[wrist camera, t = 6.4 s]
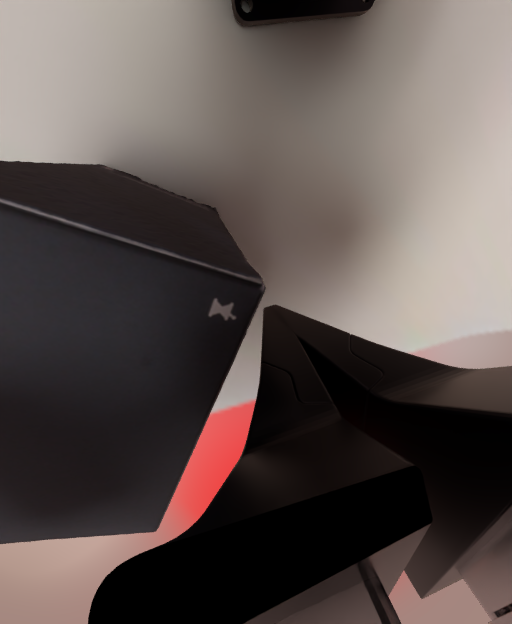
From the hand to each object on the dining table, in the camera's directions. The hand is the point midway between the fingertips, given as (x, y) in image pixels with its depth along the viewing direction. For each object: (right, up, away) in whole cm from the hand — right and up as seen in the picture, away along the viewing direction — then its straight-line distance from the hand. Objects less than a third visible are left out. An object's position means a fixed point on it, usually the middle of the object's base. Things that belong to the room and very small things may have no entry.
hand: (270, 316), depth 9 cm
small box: (-7, +2, +6) cm, 10 cm away
